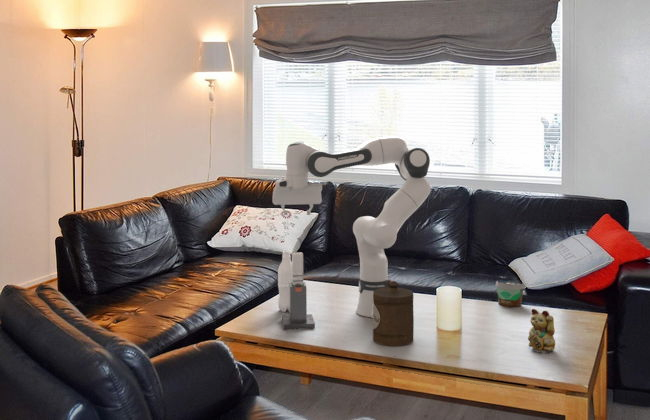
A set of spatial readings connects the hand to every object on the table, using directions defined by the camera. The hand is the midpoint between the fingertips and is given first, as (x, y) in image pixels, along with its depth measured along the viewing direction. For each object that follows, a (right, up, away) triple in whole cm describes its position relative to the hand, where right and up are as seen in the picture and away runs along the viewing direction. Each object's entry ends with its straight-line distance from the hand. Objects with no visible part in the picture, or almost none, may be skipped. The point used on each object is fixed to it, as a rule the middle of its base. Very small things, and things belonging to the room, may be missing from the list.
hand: (297, 215), depth 326 cm
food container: (+89, -39, +7) cm, 97 cm away
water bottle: (-4, -40, +1) cm, 40 cm away
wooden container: (+36, -46, -36) cm, 69 cm away
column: (+1, -34, -19) cm, 39 cm away
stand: (+1, -43, -17) cm, 46 cm away
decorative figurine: (+88, -47, -47) cm, 110 cm away
